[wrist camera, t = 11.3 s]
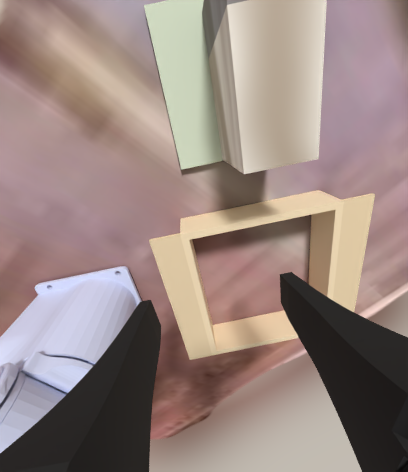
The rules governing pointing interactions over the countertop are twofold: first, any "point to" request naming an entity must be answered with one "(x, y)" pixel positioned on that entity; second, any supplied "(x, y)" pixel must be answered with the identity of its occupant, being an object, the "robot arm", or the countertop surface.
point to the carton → (311, 203)
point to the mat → (186, 79)
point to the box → (266, 79)
